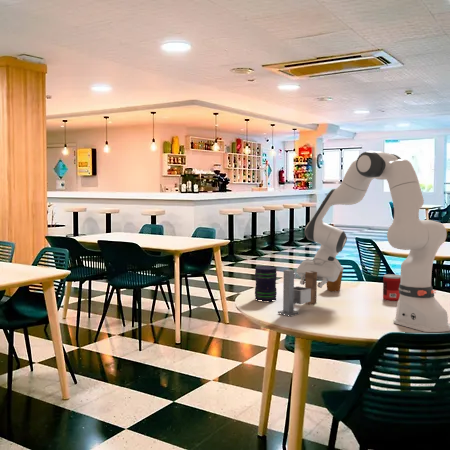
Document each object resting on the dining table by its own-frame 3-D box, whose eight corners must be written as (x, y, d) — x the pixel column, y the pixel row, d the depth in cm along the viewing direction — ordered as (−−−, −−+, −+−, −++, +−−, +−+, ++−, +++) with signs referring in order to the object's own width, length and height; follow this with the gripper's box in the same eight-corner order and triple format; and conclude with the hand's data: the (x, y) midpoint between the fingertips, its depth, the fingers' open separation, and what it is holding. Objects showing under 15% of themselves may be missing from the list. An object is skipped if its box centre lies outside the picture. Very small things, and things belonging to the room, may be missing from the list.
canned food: (404, 299, 237) (405, 276, 236) (392, 301, 233) (393, 277, 232) (391, 296, 244) (391, 273, 243) (379, 298, 240) (379, 275, 239)
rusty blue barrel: (258, 302, 231) (258, 269, 230) (252, 298, 241) (252, 266, 239) (279, 301, 233) (279, 268, 232) (272, 297, 243) (272, 265, 242)
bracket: (296, 308, 221) (297, 266, 220) (310, 311, 216) (311, 268, 215) (277, 313, 211) (277, 270, 210) (290, 316, 206) (291, 272, 205)
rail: (309, 301, 233) (310, 271, 232) (316, 303, 230) (316, 272, 229) (304, 303, 230) (305, 272, 229) (311, 304, 228) (312, 272, 227)
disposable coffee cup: (345, 289, 260) (346, 265, 259) (339, 292, 252) (340, 268, 251) (327, 287, 265) (328, 264, 264) (321, 290, 257) (321, 266, 256)
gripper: (301, 254, 241) (288, 278, 235) (339, 259, 227) (326, 284, 221) (307, 263, 245) (294, 286, 239) (345, 268, 230) (332, 293, 224)
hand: (310, 285), depth 230 cm, fingers open, 8 cm apart
